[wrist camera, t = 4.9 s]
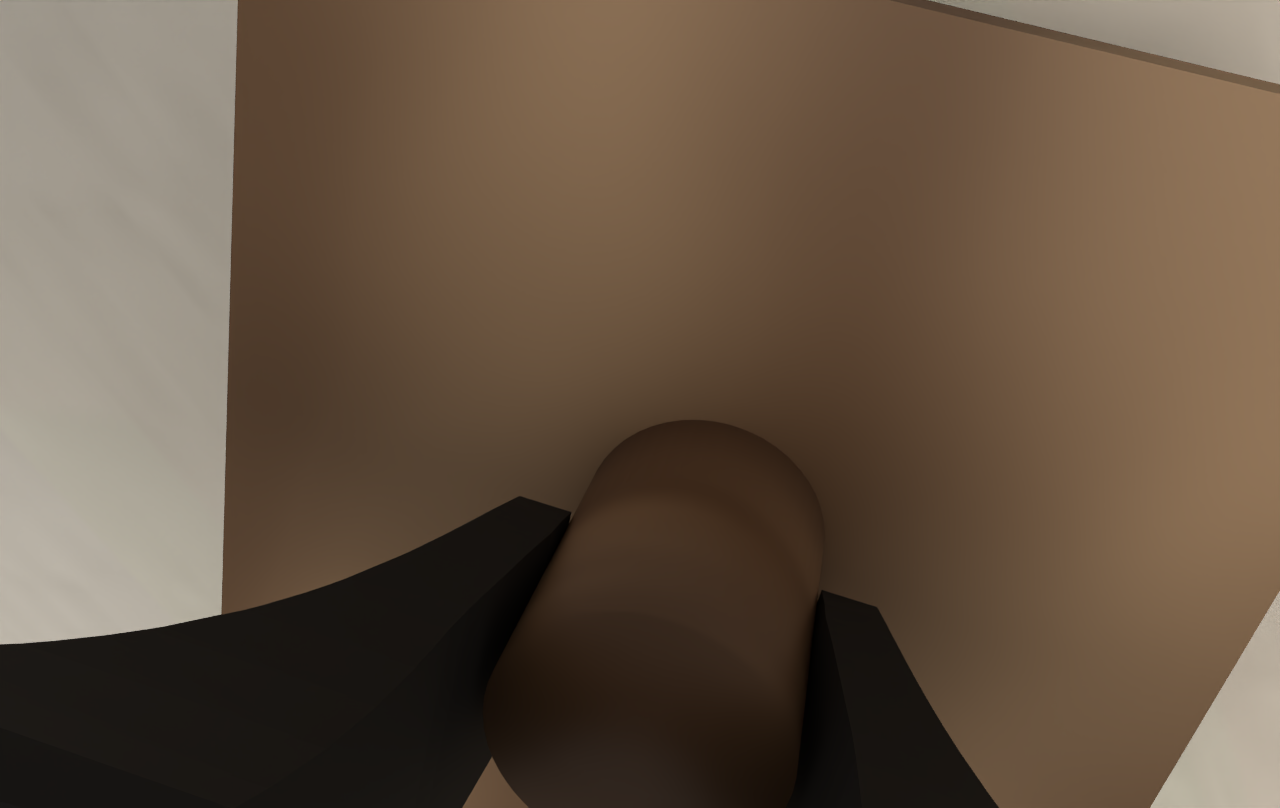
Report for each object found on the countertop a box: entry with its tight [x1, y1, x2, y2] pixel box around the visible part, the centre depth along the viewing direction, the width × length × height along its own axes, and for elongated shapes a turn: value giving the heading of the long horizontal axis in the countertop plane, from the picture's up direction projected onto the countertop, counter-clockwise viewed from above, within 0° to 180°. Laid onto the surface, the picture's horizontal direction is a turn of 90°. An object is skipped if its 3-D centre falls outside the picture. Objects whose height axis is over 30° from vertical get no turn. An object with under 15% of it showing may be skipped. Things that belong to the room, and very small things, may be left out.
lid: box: [222, 0, 1280, 808], centre depth 11 cm, size 12×12×4 cm
